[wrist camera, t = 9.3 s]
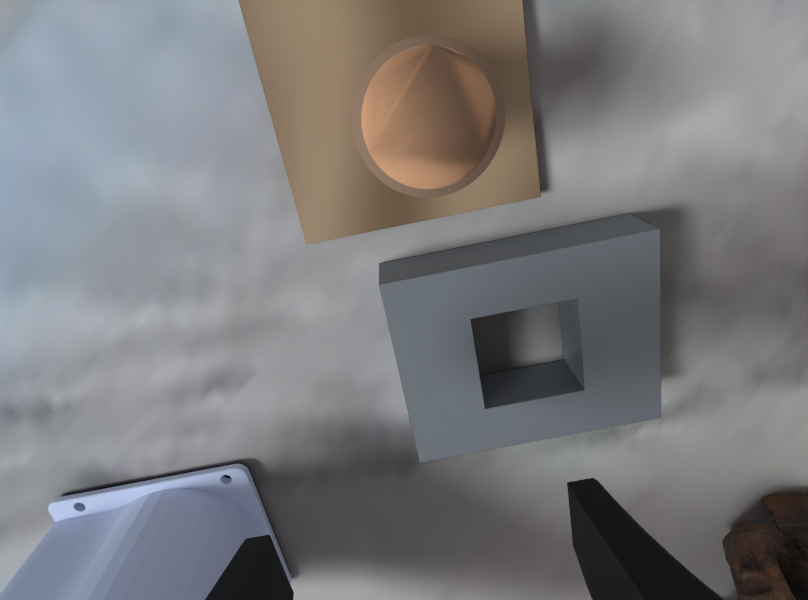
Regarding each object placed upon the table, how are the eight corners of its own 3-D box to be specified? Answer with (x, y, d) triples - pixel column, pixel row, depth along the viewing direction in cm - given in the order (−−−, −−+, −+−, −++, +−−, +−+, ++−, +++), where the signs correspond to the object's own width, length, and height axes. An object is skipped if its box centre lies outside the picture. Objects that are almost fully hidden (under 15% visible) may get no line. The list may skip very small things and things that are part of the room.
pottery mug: (896, 514, 27) (999, 710, 22) (718, 542, 34) (768, 702, 28) (802, 456, 22) (913, 702, 17) (609, 502, 28) (647, 694, 23)
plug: (370, 172, 18) (371, 211, 12) (347, 71, 17) (335, 53, 11) (462, 151, 18) (514, 180, 12) (446, 48, 17) (494, 18, 11)
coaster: (308, 240, 20) (306, 244, 19) (235, -23, 17) (231, -27, 16) (536, 194, 20) (540, 196, 19) (509, -84, 16) (513, -90, 16)
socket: (416, 426, 23) (419, 462, 21) (379, 263, 20) (378, 285, 18) (633, 385, 23) (661, 417, 21) (627, 213, 20) (660, 228, 18)
